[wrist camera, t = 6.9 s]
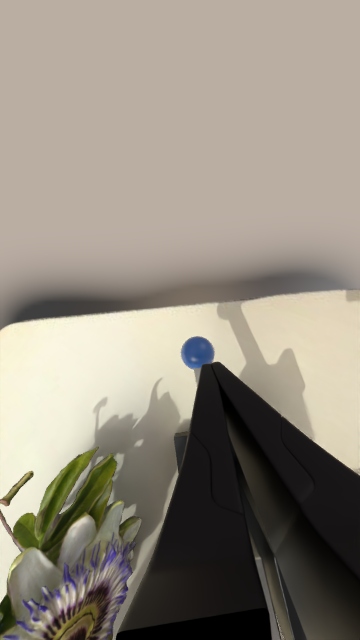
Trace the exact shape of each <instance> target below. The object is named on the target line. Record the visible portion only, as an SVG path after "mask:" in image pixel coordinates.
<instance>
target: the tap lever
mask: <svg viewBox="0 0 360 640" xmlns="http://www.w3.org/2000/svg"><path fill="white" fill-rule="evenodd" d="M181 357H182V360H183V362H184V363H185V365H186V366H188V367H189V368H191V369H193V370H194V373H195V379H196V385H197V386H198V381H199V376H200V370H201V365H202V364H207V363H210V364H211V363H212V362H213V359H214V348H213V346H212V344H211V343H210V342H209V341H208V340H207V339H205V338H203V337H199V336H196V337H192V338H189V339H188V340H187V341H186V342H185V343H184V344H183V346H182V349H181ZM248 531H249V535H250V540H251V544H252V548H253V553H254V557H255V561H256V565H257V569H258V572H259V576H260V580H261V584H262V587H263V591H264V595H265V599H266V602H267V606H268V610H269V614H270V623H271V634H272V640H281V636H280V632H279V628H278V623H277V619H276V615H275V611H274V607H273V602H272V598H271V594H270V590H269V586H268V581H267V577H266V573H265V569H264V565H263V560H262V558H261V555H260V553H259V551H258V549H257V546H256V544H255V542H254V539H253V537H252V535H251V533H250V530H249V528H248Z"/></svg>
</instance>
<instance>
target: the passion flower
mask: <svg viewBox="0 0 360 640" xmlns="http://www.w3.org/2000/svg"><path fill="white" fill-rule="evenodd" d="M98 448H99V447H96V448H95V449H94V450H92V451H88V452H85V453H83V454H81V455H78V456H77V457H76V458H75V459H73V460H72V461H71V462H70V463H69V464H68V465H67V466H66V467H65V468H64V469H62V470H61V471H60V473H59V474H58V476H57V477H56V478H55V479H54V480H53V481H52V482H51V484H50V485H49V486H48V487H47V489H46V491H45V494H44V497H43V499H42V502H41V505H40V509H39V512H38V514H37V516H36V517H35V516H34V515H33V513H26V514H24V515H23V516H21V517H20V518H19V520H18V521H17V522H16V524H15V526H14V528H13V533H12V531H11V528H10V527H9V525H8V524H7V523H6V520H5V517H4V516H3V514H2V512H1V510H0V519H1V521H2V523H3V525H4V527H5V528H6V530H7V532H8V533H9V534H10V535H11V537H12V539H13V542H14V543H15V544H16V545H17V546H18V548H19V550H20V551H21V552H22V553H21V554H19V555H18V556H17V557H16V559H15V560H14V562H13V563H12V565H11V567H10V571H9V575H8V579H7V594H6V595H5V597H4V599H3V600H2V602H1V603H0V640H112V637H113V623H114V620H115V618H116V614H117V613H118V612H119V608H120V604H122V603H123V602H124V600H125V598H126V591H128V587H127V585H126V581H127V579H128V578H129V577H130V576H131V575H132V573H133V572H132V568H131V567H130V565H129V564H130V561H131V560H132V559H133V550H132V549H133V548H134V547H135V545H136V544H135V545H133V544H134V543H135V541H134V542H133V544H132V545H131V546H129V545H130V543H131V542H132V541H133V540H134V538H135V536H136V534H137V532H138V530H139V528H140V525H141V519H139V518H138V517H135V516H132V517H130V518H128V519H127V520H126V521H124V522H123V523H122V524H121V525H120V522H121V519H122V513H123V509H124V502H123V501H121V500H119V501H117V502H113V503H112V504H110V505H109V506H107V502H108V500H109V498H110V494H111V491H112V476H113V475H114V473H115V470H116V466H117V462H116V461H115V459H114V458H113V454H112V453H111V454H110V455H109V456H108V457H106V458H105V459H103V460H102V461H100V462H99V463H98V464H97V465H96V466H95V467H94V468H93V469H92V470H91V471H90V473H89V475H88V477H87V479H86V481H85V483H84V484H83V486H82V487H81V488H80V489H79V491H78V493H77V496H76V499H75V501H74V503H73V504H72V505H71V507H70V508H68V509H67V510H66V511H65V512H63V513H61V514H59V512H60V511H61V509H62V506H63V505H64V503H65V501H66V499H67V497H68V495H69V494H70V492H71V490H72V488H73V487H74V485H75V483H76V481H77V480H78V478H79V476H80V474H81V473H82V472H83V470H84V469H85V468H86V467H87V466H88V464H89V462H90V460H91V458H92V457H93V455H94V453H95V452H96V451H97V449H98ZM32 477H33V471H29V472H28V473H26V474H25V475H24V476H23V477H22V478H21V479H20V481H19V482H18V483H16V484H15V485H14V486H13V487H12V488H11V490H10V491H9V493H8V494H7V495H6V496H5V497H3V498H2V499H0V503H1V504H4V505H5V506H9V505H10V501H11V500H12V498H13V497H14V496H15V495H16V494H17V492H18V491H19V489H20V488H21V487H22V486H23V485H24V484H25V483H26V482H27V481H28V480H29V479H31V478H32Z"/></svg>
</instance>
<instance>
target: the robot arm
mask: <svg viewBox="0 0 360 640" xmlns="http://www.w3.org/2000/svg"><path fill="white" fill-rule="evenodd" d="M229 436H230V438H229ZM230 439H231V441H232V444H233V447H234V449H235V452H236V454H237V457H238V460H239V462H240V465H241V468H242V470H243V473H244V475H245V478H246V481H247V483H248V486H249V489H250V491H251V494H252V496H253V499H254V502H255V504H256V507H257V509H258V512H259V515H260V517H261V520H262V523H263V525H264V528H265V530H266V533H267V536H268V538H269V541H270V544H271V546H272V549H273V551H274V553H275V557H276V559H277V562H278V565H279V567H280V570H281V573H282V575H283V578H284V580H285V583H286V586H287V588H288V591H289V594H290V596H291V599H292V601H293V604H294V607H295V609H296V612H297V614H298V617H299V620H300V622H301V625H302V628H303V630H304V633H305V635H306V638H307V640H360V476H359V475H358V474H357V473H355V472H354V471H353V470H351V469H350V468H348V467H347V466H346V465H344V464H343V463H342V462H340V461H339V460H338V459H336V458H335V457H333V456H332V455H331V454H329V453H328V452H327V451H325V450H324V449H323V448H321V447H320V446H319V445H317V444H316V443H315V442H313V441H312V440H311V439H310V438H308V437H307V436H306V435H305V434H303V433H302V432H301V431H300V430H299V429H297V428H296V427H295V426H294V425H292V424H291V423H290V422H289V421H288V420H287V419H285V418H284V417H281V414H280V413H278V412H277V411H276V410H275V409H274V408H273V407H271V406H270V405H269V404H268V403H267V402H266V401H264V400H263V399H262V398H261V397H260V396H259V395H257V394H256V393H255V392H254V391H253V390H252V389H250V388H249V387H248V386H247V385H246V384H245V383H243V382H242V381H241V380H240V379H239V378H238V377H236V376H235V375H234V374H233V373H232V372H231V371H229V370H228V369H227V368H226V367H225V366H224V365H222V364H221V363H220V362H213V363H211V364H210V363H207V364H202V365H201V370H200V376H199V381H198V386H197V391H196V397H195V402H194V407H193V412H192V418H191V423H190V428H189V433H188V438H187V443H186V448H185V452H184V457H183V461H182V464H181V468H180V471H179V475H178V478H177V482H176V485H175V488H174V491H173V494H172V498H171V501H170V504H169V507H168V510H167V514H166V517H165V520H164V523H163V526H162V529H161V532H160V535H159V538H158V541H157V544H156V547H155V550H154V553H153V555H152V558H151V560H150V563H149V565H148V568H147V570H146V573H145V575H144V577H143V579H142V581H141V583H140V586H139V588H138V590H137V592H136V594H135V596H134V599H133V601H132V603H131V605H130V607H129V609H128V611H127V614H126V616H125V618H124V620H123V622H122V624H121V627H120V629H119V631H118V633H117V636H116V640H272V634H271V623H270V614H269V610H268V606H267V602H266V599H265V595H264V591H263V587H262V584H261V580H260V576H259V572H258V569H257V565H256V561H255V557H254V553H253V548H252V544H251V540H250V535H249V531H248V526H247V521H246V518H245V511H244V506H243V502H242V497H241V492H240V487H239V482H238V477H237V472H236V467H235V462H234V457H233V452H232V447H231V442H230Z"/></svg>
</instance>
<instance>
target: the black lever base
mask: <svg viewBox="0 0 360 640" xmlns="http://www.w3.org/2000/svg"><path fill="white" fill-rule="evenodd" d="M188 433H189V431H188V432H182V433H176V434H175V436H174V441H175V449H176V457H177V465H178V473H179V471H180V468H181V464H182V461H183V457H184V452H185V448H186V443H187V438H188ZM229 438H230V436H229ZM230 442H231V447H232V452H233V457H234V462H235V467H236V472H237V477H238V482H239V487H240V492H241V497H242V502H243V506H244V511H245V518H246V521H247V526H248V528H249V530H250V533H251V535H252V537H253V539H254V542H255V544H256V546H257V549H258V551H259V553H260V555H261V558H262V560H263V565H264V569H265V573H266V577H267V581H268V586H269V590H270V594H271V598H272V602H273V607H274V611H275V613H276V616H277V619H278V622H279V624H280V627H281V630H282V633H283V635H284V638H285V640H307V638H306V635H305V633H304V630H303V628H302V625H301V622H300V620H299V617H298V614H297V612H296V609H295V607H294V604H293V601H292V599H291V596H290V594H289V591H288V588H287V586H286V583H285V580H284V578H283V575H282V573H281V570H280V567H279V565H278V562H277V559H276V557H275V553H274V551H273V549H272V546H271V544H270V541H269V538H268V536H267V533H266V530H265V528H264V525H263V523H262V520H261V517H260V515H259V512H258V509H257V507H256V504H255V502H254V499H253V496H252V494H251V491H250V489H249V486H248V483H247V481H246V478H245V475H244V473H243V470H242V468H241V465H240V462H239V460H238V457H237V454H236V452H235V449H234V447H233V444H232V441H231V439H230Z"/></svg>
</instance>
